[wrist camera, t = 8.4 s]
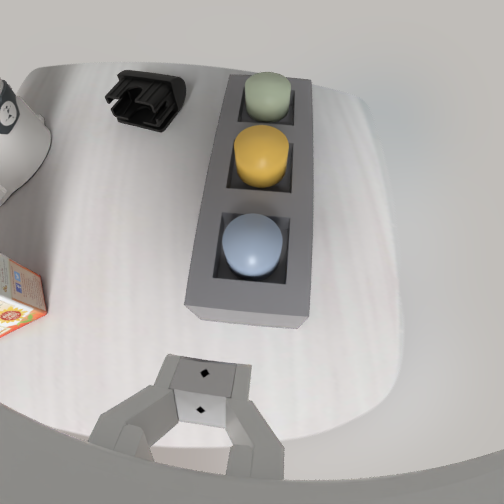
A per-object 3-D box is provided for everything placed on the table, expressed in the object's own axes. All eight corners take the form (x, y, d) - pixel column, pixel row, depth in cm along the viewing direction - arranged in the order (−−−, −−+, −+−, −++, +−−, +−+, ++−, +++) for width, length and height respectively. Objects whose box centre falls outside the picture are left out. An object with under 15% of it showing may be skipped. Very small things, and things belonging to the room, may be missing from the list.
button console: (201, 319, 33) (184, 304, 25) (233, 117, 42) (229, 74, 35) (297, 328, 32) (309, 316, 25) (304, 122, 42) (311, 79, 34)
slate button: (223, 278, 28) (218, 266, 25) (229, 228, 30) (226, 211, 27) (277, 283, 28) (280, 271, 25) (281, 233, 30) (284, 216, 26)
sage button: (243, 121, 33) (242, 98, 29) (248, 93, 34) (247, 71, 31) (288, 124, 32) (290, 101, 29) (289, 96, 34) (291, 73, 31)
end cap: (190, 102, 44) (182, 68, 38) (165, 134, 42) (154, 100, 36) (139, 92, 46) (129, 62, 39) (114, 121, 43) (100, 91, 37)
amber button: (233, 186, 30) (230, 164, 26) (239, 146, 31) (237, 123, 28) (284, 189, 29) (287, 168, 26) (287, 150, 31) (289, 127, 28)
